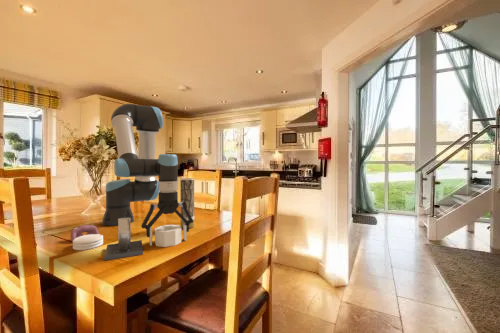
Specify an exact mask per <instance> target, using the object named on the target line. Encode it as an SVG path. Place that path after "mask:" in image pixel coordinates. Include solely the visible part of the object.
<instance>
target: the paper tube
mask: <svg viewBox="0 0 500 333" xmlns="http://www.w3.org/2000/svg"><path fill="white" fill-rule="evenodd" d="M182 201H184V202H185V204H186V208H187V210H188V212H189V214H190V216H191V218H192V219H193V223H190V224H189V229H192V228H194V227H195V178H193V177H183V178H182V177H181V178H180V202H182ZM180 214H181V215H182V216H183V217H184V218H185V219H186V220H187V221H188V220H189V219H188V217H187V215H186V214H185V212H184V210H183V208H182V207H181V206H180ZM183 224H185V222H184V221H183V220H182V219H181V218H180V227H181V229H183Z"/></svg>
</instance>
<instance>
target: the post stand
mask: <svg viewBox="0 0 500 333" xmlns="http://www.w3.org/2000/svg"><path fill="white" fill-rule="evenodd" d="M117 226H118V229H117V230H118V231H117V232H118V238H117V239H118V240H117V242H118V243H110V244H107V245H106V248H105V253H104V255H103V256H104V258H103V259H104V261H110V260H116V259H122V258H129V257H135V256H140V255H141V256H142V255H144V247H143V240H142V239H140V240H134V241H131V236H132V234H131V227H132V226H131V223H130V217H122V218H119V219H118V225H117Z"/></svg>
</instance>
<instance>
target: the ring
mask: <svg viewBox="0 0 500 333" xmlns="http://www.w3.org/2000/svg"><path fill="white" fill-rule="evenodd" d="M154 243H155V246H156V247H162V248H168V247H169V248H170V247H174V246H177V245H179V244H181V243H182V228H181V224H180V225H179V224H164V225H160V226H158V227H154Z"/></svg>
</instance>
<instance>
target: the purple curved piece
mask: <svg viewBox="0 0 500 333" xmlns="http://www.w3.org/2000/svg"><path fill="white" fill-rule="evenodd" d="M83 233H86V234H85V235H90V234H100V232H99V229H98V227H97V226H96V225H94V224H83V225H79V226H76V227H74V228H73V229H72V230H71V231H70V239H71V242H72V243H73V240H74V239H75V238H77V237H80V236H84V234H83Z"/></svg>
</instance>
